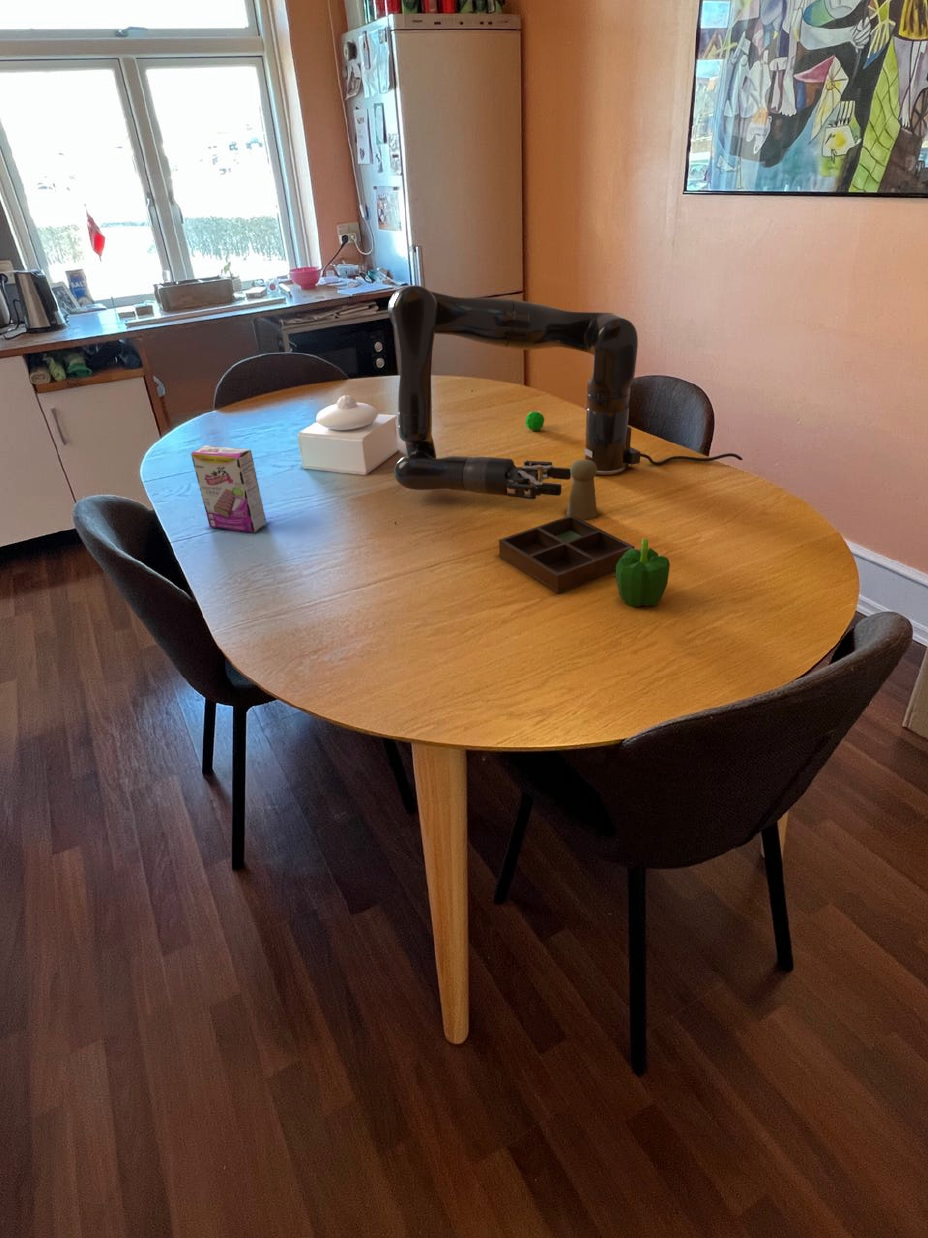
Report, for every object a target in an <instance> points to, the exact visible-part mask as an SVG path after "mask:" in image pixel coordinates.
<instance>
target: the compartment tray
mask: <svg viewBox="0 0 928 1238" xmlns="http://www.w3.org/2000/svg"><path fill="white" fill-rule="evenodd" d="M630 548H633V549H635V545H632V544H630V543H628V542H627V541H624V540H622V539H620V538H618V537H616V536H614V535H613V534H611V533H608V532H606V531H605V530H603V529H601V528H599V527H596V526H595V525H592V524H591V523H589V522H587V521H586V520H585V521H584V520H581V519H579V518H577V517H575V516H573V515H570V516H568V515H567V516H565V517H562V518H559V519H555V520H553V521H549V522H547V523H544V524H541V525H538V526H535V527H531V528H529V529H527V530H524V531H521V532H517V533H514V534H512V535H509V536H506V537H503V538H500V539H498V556H499V558H501V559H502V560H504V561H505V562H507V563H508V564H510V565H512V566H513V567H514V568H516V569H518V570H520V571H522V572H523V573H524V574H526V575H528V577H531V578H533V580H535V581H537V582H538V583H540V584H542V585H543V586H545V587H546V588H548V589H549V590H551V591H552V592H554V593H555V594H557V595H559V594H560V593H564V592H565V591H566V592H567V591H569V590H571V589H573V588H576V587H578V586H581V585H583V584H586V583H589V582H591V581H593V580H597V579H598V578H601V577H604V576H606V575H608V574H612V573H614V572H616V565H617V563H618V561H619V559H620V558H622V557H623V555H624V553H625V552H627V551H628V550H629V549H630Z"/></svg>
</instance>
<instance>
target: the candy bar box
mask: <svg viewBox="0 0 928 1238" xmlns="http://www.w3.org/2000/svg"><path fill="white" fill-rule="evenodd" d="M190 456H191V460H192V464H193V467H194V471H195V476H196V479H197V483H198V487H199V490H200V494H201V495H200V496H201V499H202V502H203V506H204V510H205V514H206V518H207V522H208V526H209V528H210V529H220V530H225V531H226V530H227V531H235V532H242V533H243V532H245V533H252V534H255V533H257V532H259V530H261V529H262V528H263V527H264V526H266V525H267V520H266V513H265V509H264V506H263V505H264V504H263V501H262V496H261V491H260V487H259V482H258V478H257V473H256V472H257V471H256V468H255V463H254V458H253V453H252V450H251V449H248V448H239V447H238V448H237V447H228V446H227V447H226V446H216V445H203V446H201V447H199V448H197V449H196V450H193V451H192V452H191V453H190Z"/></svg>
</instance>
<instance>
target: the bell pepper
mask: <svg viewBox="0 0 928 1238" xmlns="http://www.w3.org/2000/svg"><path fill="white" fill-rule="evenodd" d="M640 541H641V542H640V543H641V549H636V548H634V549H633V548H630V549H629V550H628V551H627V552H625V553H624V555H623V557H622V558H620V559H619V561H618V563H617V565H616V571H615V579H616V586H617V589H618V595H619V596H620V598H621V599H622V601H623V602H624V603H625V604H626V605H628V606H631V607H632V608H633V607H635V608H640V607H642V606H646V607H654V606H656V605H657V604H658V603H659V602H660V601H661V600H662V598H663V596H664V594H665V591H666V589H667V586H668V582H669V575H670V567H671V563H670V560H669V558H668V557H667V556H664V555H659V553H658V552H657V551H656V550H654V549H653V548H652V547H649V540H647V538H642V539H641V540H640Z"/></svg>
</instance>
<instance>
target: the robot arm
mask: <svg viewBox="0 0 928 1238" xmlns="http://www.w3.org/2000/svg"><path fill="white" fill-rule="evenodd" d="M387 312H388V317H389V320H390V322H391V324H392V325H393V326H394V328H396V332H397V338H398V344H399V352H400V355H399V356H400V370H399V371H400V374H399V386H398V395H397V397H398V398H397V423H398V426H397V427H398V428H397V429H398V437H399V438H400V440H401V441H403V442H404V443H405V449H406V455H404V456H403V457H401V458H400V459H399V460H398V461H397V462H396V463H395V466H394V469H393V474H394V478H395V480H396V482H397V483H398V484H399V485H400V486H401V487H403V488H405V489H407V490H411V491H412V490H413V491H431V490H451V491H461V492H470V493H474V494H480V495H481V494H482V495H493V496H503V497H508V498H517V499H525V500H526V499H527V500H536V499H537V497H541V496H542V495H543V496H554V497H555V496H556V497H559V496H561V494H562V484H560V483H553V482H552V483H551V482H544V480H548V479H554V480H565V481H569V480H570V479H571V478H572V476H571V472H570V468H569V467H555V466H553V462H552V461H539V460H538V461H537V460H524V461H523V466H516V464H515V462H514V460H513V459H511V458H504V457H491V456H462V455H461V456H459V455H447V456H444V457H441V458H437V453H436V447H435V441H434V438H433V401H432V399H433V398H432V397H433V395H432V364H433V362H432V361H433V349H434V341H435V335H447V336H456V337H460V338H463V339H466V340H472V341H474V342H477V343H481V344H486V345H490V346H495V347H499V348H505V349H506V348H507V349H513V350H514V349H515V350H522V351H523V350H525V351H532V350H533V351H534V350H543V349H552V348H563V349H570V350H575V351H578V352H583V353H587V354H590V355H593V371H592V377H590V378H589V380H588V381H587V388H586V393H587V394H586V417H585V440H584V441H585V443H584V444H585V445H584V450H583V451H584V452H583V453H584V460H590V461H593V462H594V463H595V464H596V466H597V474H596V476H597V475H598V476H614V475H618V474H622V473H623V472H625V470H628V469H630V466H634V465H638V464H641V458H645V459H647V460H648V461H649V463H650V464H651V465H654V466H661V465H664V464H666V463H668V462H670V461H675V460H687V461H695V462H711V461H716V460H720V459H723V458H728V457H730V458H731V457H733V458H736V459H738V460H739V461H743V458H742V456H740V455H739V454H737V453H733V452H730V453H723V454H719V455H715V456H711V457H695V456H689V455H688V456H686V455H674V456H670V457H668V458H665V459H664V460H662V461H654V460H653V458H652V457H651V456H650V455H649V454H646V453H642V452H641V451H639V450H638V449H636V448H635V447H632V446H631V443H632V440H631V439H632V427H631V426H629V416H630V401H631V399H630V398H631V387H632V386H633V385H632V384H633V382H634V381H635V380H634V379H635V375H636V367H637V366H636V365H637V358H638V348H639V347H638V346H639V337H638V336H639V335H638V332H637V328H636V326H635V325H634V324H633V323H632V322H631V321H630V320H628V319H627V318H625V317H624V316H622V315H619V314H617V313H613V312H607V311H606V312H605V311H604V312H601V311H599V312H598V311H597V312H593V311H592V312H591V311H570V310H564V309H560V308H557V307H553V306H549V305H545V304H541V303H535V302H531V301H525V300H518V299H512V298H501V297H460V296H452V295H449V294H443V293H440V292H435V291H431V290H429V289H427V287H424V286H421V285H415V284H412V285H411V284H410V285H405V286H402V287H399V288H398V289H397V290H396V291H395V292H394V293H393V294H392V296H391V297H390V299H389V301H388V306H387Z"/></svg>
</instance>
